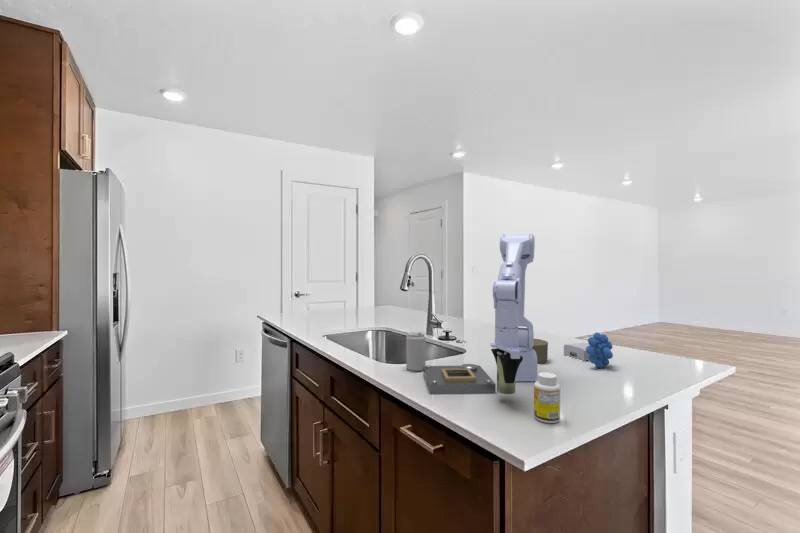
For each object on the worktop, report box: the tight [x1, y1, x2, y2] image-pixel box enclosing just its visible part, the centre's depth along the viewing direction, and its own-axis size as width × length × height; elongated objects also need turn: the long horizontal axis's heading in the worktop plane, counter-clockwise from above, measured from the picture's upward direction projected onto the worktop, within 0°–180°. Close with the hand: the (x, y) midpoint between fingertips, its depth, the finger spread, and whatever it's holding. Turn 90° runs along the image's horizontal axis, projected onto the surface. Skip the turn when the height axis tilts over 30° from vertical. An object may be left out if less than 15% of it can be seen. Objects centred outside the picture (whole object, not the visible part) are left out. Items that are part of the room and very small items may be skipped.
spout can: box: [496, 351, 517, 395], centre depth 99 cm, size 5×5×10 cm
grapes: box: [586, 332, 614, 369], centre depth 128 cm, size 12×7×12 cm, turn 114°
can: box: [531, 338, 549, 365], centre depth 138 cm, size 12×12×7 cm
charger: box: [563, 342, 590, 362], centre depth 143 cm, size 5×9×15 cm
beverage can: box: [405, 331, 427, 372], centre depth 127 cm, size 6×6×12 cm
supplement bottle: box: [533, 371, 561, 424], centre depth 88 cm, size 6×6×10 cm
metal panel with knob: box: [422, 363, 497, 395], centre depth 113 cm, size 18×18×4 cm
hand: (506, 379), depth 99 cm, fingers closed on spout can, 5 cm apart
